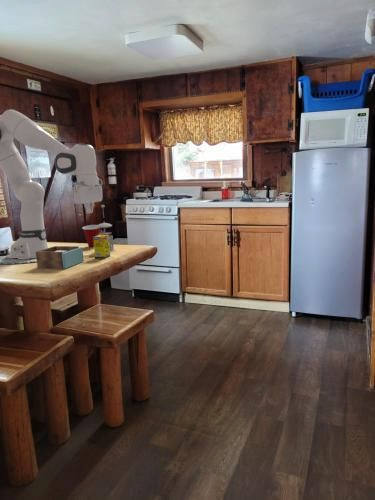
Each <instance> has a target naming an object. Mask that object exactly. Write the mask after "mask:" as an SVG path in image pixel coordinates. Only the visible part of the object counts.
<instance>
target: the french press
mask: <svg viewBox="0 0 375 500" xmlns="http://www.w3.org/2000/svg"><path fill="white" fill-rule="evenodd" d="M100 208H105V204H101V206H100ZM104 214H105V213H104V210H102V215H103V217H105V215H104ZM97 225H98V226H97V227H98V228H100V233H99V235H109V244H110V253H112V252H116V249H115V248H114V239H113V238H114V237H113V235H112V234H113V233H112V232H110V231H108V232H106V228H111V227H113V224H111V223H109V222H108V223H107V222H102V223H99V224H97ZM102 229H103V230H102Z"/></svg>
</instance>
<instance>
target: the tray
mask: <svg viewBox="0 0 375 500" xmlns="http://www.w3.org/2000/svg"><path fill="white" fill-rule="evenodd" d="M78 247H79V248H76V249H73V250H70V251H68V252H65V253H62V262H63V269H68V268H70V267H73V266H75V265H77V264H80V263H82V262H84V261H85V260H84V250H83V247H82V246H78Z"/></svg>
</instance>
